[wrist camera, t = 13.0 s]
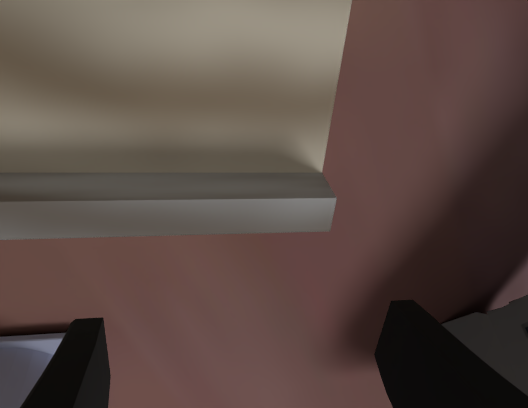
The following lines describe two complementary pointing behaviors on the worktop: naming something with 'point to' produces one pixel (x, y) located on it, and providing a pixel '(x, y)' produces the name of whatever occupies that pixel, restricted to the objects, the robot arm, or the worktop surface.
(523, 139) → the worktop surface
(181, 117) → the board
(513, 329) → the gun
